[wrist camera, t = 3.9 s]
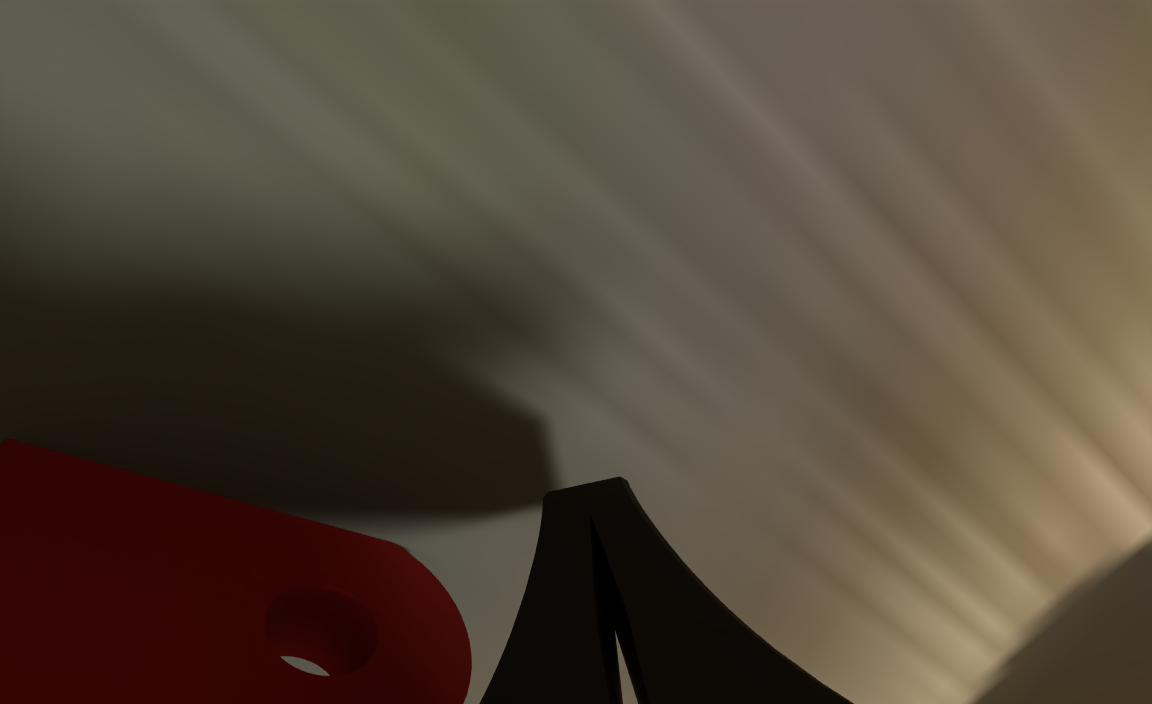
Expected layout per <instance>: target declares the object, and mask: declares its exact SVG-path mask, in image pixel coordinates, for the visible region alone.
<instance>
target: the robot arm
mask: <svg viewBox="0 0 1152 704" xmlns="http://www.w3.org/2000/svg"><path fill="white" fill-rule="evenodd" d="M615 631H616V634H617V638H618V641H619V644H620V647H621V650H622V654H623V657H624V660H625V663H626V666H627V669H628V673H629V676H630V679H631V682H632V685H633V688H634V692H635V695H636V698H637V701H638V704H854V703H852V702H850V701H849V700H847V699H846V698H844V697H843V696H841V695H840V694H838V693H837V692H835V691H833V690H832V689H830V688H829V687H827V686H826V685H824V684H823V683H821V682H820V681H818V680H817V679H816V678H814V677H813V676H812V675H810V674H809V673H807V672H806V671H805V670H803V669H802V668H801V667H799V666H798V665H796V664H795V663H794V662H792V661H791V660H790V659H788V658H787V657H786V656H784V655H783V654H781V653H780V652H779V651H777V650H776V649H775V648H773V647H772V646H771V645H770V644H769V643H767V642H766V641H765V640H764V639H763V638H761V637H760V636H759V635H758V634H757V633H755V632H754V631H753V630H752V629H751V628H749V627H748V626H747V625H746V624H745V623H744V622H743V621H742V620H740V619H739V618H738V617H737V616H736V615H735V614H734V613H733V612H732V611H731V610H729V609H728V608H727V607H726V606H725V605H724V604H723V603H722V602H721V601H720V600H719V599H718V598H717V597H716V596H715V595H714V594H713V593H712V592H711V591H710V590H709V589H708V588H707V587H706V586H705V585H704V584H703V582H702V581H701V580H700V579H699V578H698V577H697V576H696V575H695V574H694V573H693V572H692V571H691V570H690V568H689V567H688V566H687V565H686V564H685V563H684V562H683V561H682V559H681V558H680V557H679V556H678V554H677V553H676V552H675V551H674V550H673V548H672V547H671V546H670V545H669V544H668V542H667V541H666V540H665V539H664V537H663V536H662V535H661V534H660V532H659V531H658V530H657V528H656V527H655V526H654V524H653V523H652V521H651V520H650V518H649V517H648V516H647V514H646V513H645V511H644V510H643V508H642V507H641V505H640V504H639V502H638V500H637V499H636V497H635V495H634V493H633V491H632V490H631V488H630V486H629V483H628V481H627V480H625V479H624V478H622V477H615V478H611V479H606V480H601V481H597V482H592V483H588V484H583V485H578V486H574V487H569V488H564V489H560V490H555V491H551V492H548V493H547V494H546V495H545V497H544V498H543V510H542V519H541V526H540V532H539V538H538V542H537V547H536V552H535V556H534V560H533V564H532V568H531V572H530V575H529V579H528V583H527V587H526V590H525V593H524V596H523V599H522V602H521V605H520V608H519V611H518V614H517V617H516V620H515V623H514V626H513V629H512V631H511V634H510V637H509V639H508V642H507V644H506V647H505V649H504V652H503V654H502V657H501V659H500V661H499V664H498V666H497V668H496V670H495V673H494V675H493V677H492V679H491V681H490V684H489V686H488V688H487V690H486V692H485V694H484V696H483V698H482V700H481V702H480V704H623V699H622V690H621V681H620V672H619V663H618V654H617V645H616V636H615Z"/></svg>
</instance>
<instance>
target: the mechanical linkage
mask: <svg viewBox="0 0 1152 704" xmlns="http://www.w3.org/2000/svg"><path fill="white" fill-rule="evenodd" d="M280 656H293V657H298V658H302V659H305V660H308V661H311V662H313V663H315V664H316V665H318V666H320V667H321V668H323V669H324V670H325V671H326V672H327V673H328V674H329V675H330V676H321V675H315V674H311V673H307V672H304V671H301V670H299V669H297V668H295V667H293V666H292V665H290V664H288V663H287V662H286V661H284V660H283V659H282V658H281V657H280ZM471 669H472V659H471V648H470V641H469V637H468V633H467V630H466V627H465V624H464V621H463V619H462V616H461V614H460V612H459V610H458V608H457V606H456V604H455V603H454V601H453V600H452V598H451V596H450V595H449V593H448V592H447V591H446V589H445V588H444V587H443V585H442V584H441V583H440V581H439V580H438V579H437V578H436V577H435V576H434V575H433V574H432V573H431V572H430V571H429V570H428V569H427V568H426V567H425V566H424V565H423V564H422V563H421V562H419V561H418V560H417V559H416V558H414V557H413V556H412V555H411V554H409V553H408V552H406V551H405V550H403V549H402V548H401V547H399V546H398V545H396V544H394V543H392V542H389V541H386V540H382V539H378V538H374V537H371V536H367V535H363V534H360V533H356V532H352V531H349V530H345V529H341V528H337V527H334V526H330V525H326V524H323V523H319V522H315V521H312V520H308V519H304V518H300V517H297V516H293V515H289V514H286V513H282V512H278V511H274V510H271V509H267V508H263V507H260V506H256V505H252V504H249V503H245V502H241V501H237V500H234V499H230V498H226V497H223V496H219V495H215V494H212V493H208V492H204V491H200V490H197V489H193V488H189V487H186V486H182V485H178V484H175V483H171V482H167V481H163V480H160V479H156V478H152V477H149V476H145V475H141V474H137V473H134V472H130V471H126V470H123V469H119V468H115V467H112V466H108V465H104V464H100V463H97V462H93V461H89V460H86V459H82V458H78V457H75V456H71V455H67V454H63V453H60V452H56V451H52V450H49V449H45V448H41V447H37V446H34V445H30V444H26V443H23V442H19V441H15V440H12V439H7V440H6V441H5V442H4V443H3V445H2V446H1V447H0V704H463V703H464V701H465V698H466V696H467V692H468V688H469V684H470V678H471Z"/></svg>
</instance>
